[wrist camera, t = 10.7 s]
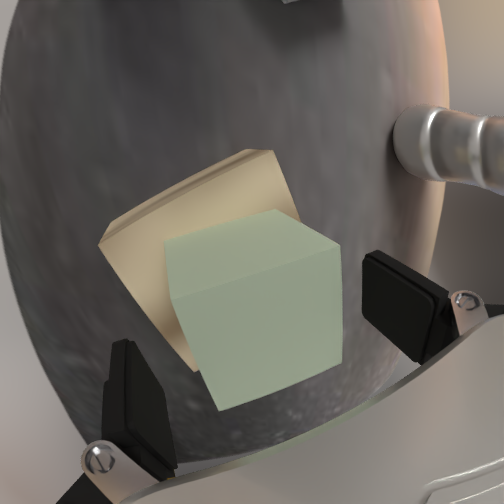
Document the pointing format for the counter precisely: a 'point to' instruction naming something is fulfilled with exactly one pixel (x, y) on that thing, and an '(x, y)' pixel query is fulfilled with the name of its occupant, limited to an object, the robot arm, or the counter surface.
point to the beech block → (189, 228)
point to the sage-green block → (257, 303)
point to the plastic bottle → (451, 146)
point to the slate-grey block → (288, 1)
